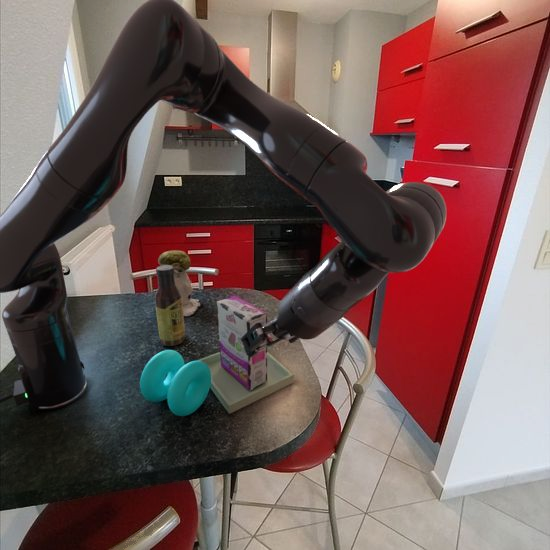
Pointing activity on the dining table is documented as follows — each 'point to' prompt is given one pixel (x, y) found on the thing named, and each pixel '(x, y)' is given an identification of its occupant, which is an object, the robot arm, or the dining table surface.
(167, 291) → the sauce bottle
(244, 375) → the candy bar box
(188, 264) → the green-topped white figurine
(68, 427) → the dining table surface
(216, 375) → the tray
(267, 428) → the dining table surface
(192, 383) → the turquoise spool
